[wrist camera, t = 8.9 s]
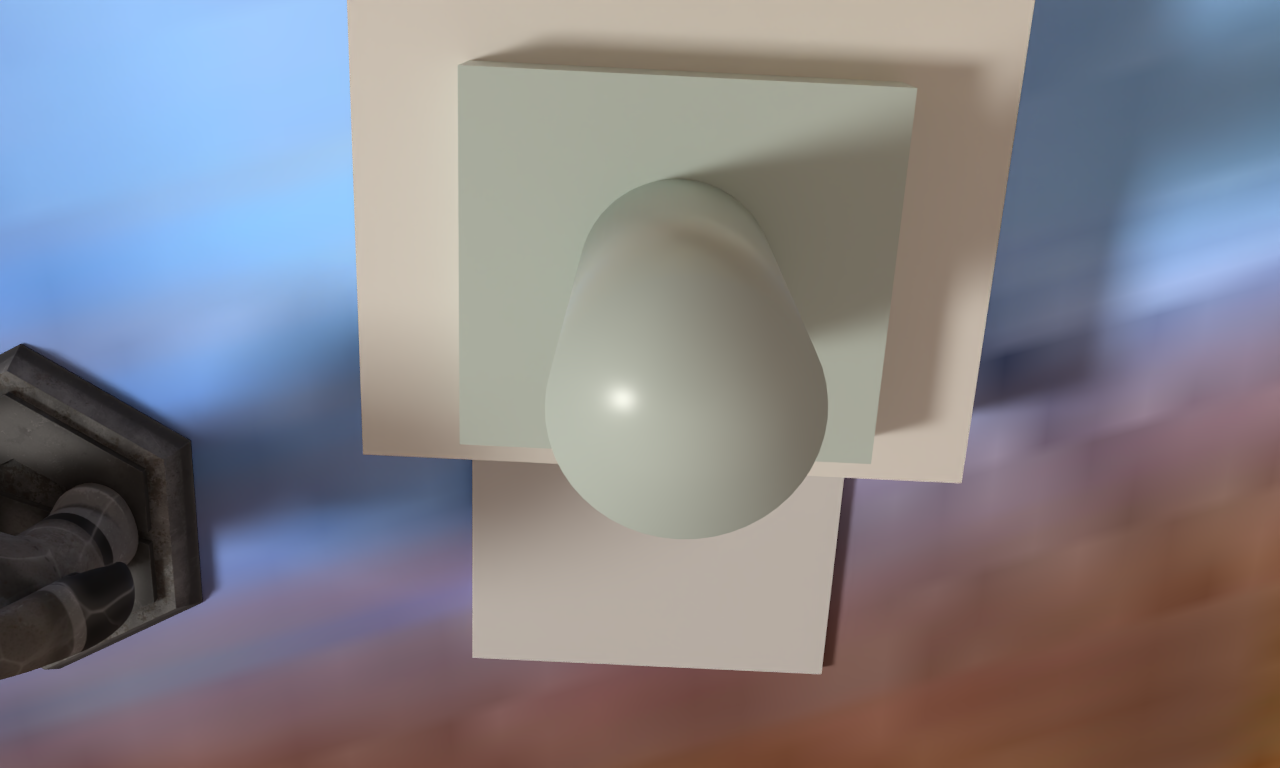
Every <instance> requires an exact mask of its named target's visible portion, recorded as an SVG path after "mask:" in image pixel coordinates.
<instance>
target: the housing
mask: <svg viewBox="0 0 1280 768" xmlns="http://www.w3.org/2000/svg"><path fill="white" fill-rule="evenodd" d="M1034 4H1035V0H347V12H348V40H349V69H350V97H351V126H352V155H353V183H354V212H355V240H356V269H357V298H358V326H359V355H360V383H361V412H362V441H363V454H364V455H385V456H406V457H427V458H448V459H468V460H489V461H510V462H531V463H552V464H558V462H557V460H556V458H555V456H554V454H553V451H552V449H547V448H527V447H506V446H485V445H464V444H460V428H459V224H458V65H459V64H462V63H464V62H466V61H469V60H474V61H494V62H514V63H534V64H554V65H574V66H594V67H614V68H634V69H654V70H675V71H695V72H715V73H735V74H755V75H775V76H795V77H815V78H835V79H856V80H876V81H896V82H904V83H906V84H909V85H911V86H914V87H916V88H917V95H916V104H915V112H914V120H913V128H912V136H911V144H910V152H909V160H908V168H907V177H906V185H905V193H904V201H903V209H902V217H901V225H900V233H899V241H898V249H897V258H896V266H895V274H894V282H893V290H892V298H891V306H890V314H889V322H888V331H887V339H886V347H885V355H884V363H883V371H882V379H881V387H880V395H879V403H878V412H877V420H876V428H875V436H874V444H873V452H872V460H871V464H859V463H838V462H817V461H815V462H814V464H813V466H812V468H811V470H810V471H809V473H808V474H807V476H822V477H842V478H863V479H884V480H905V481H926V482H946V483H961V482H962V476H963V469H964V463H965V456H966V450H967V443H968V436H969V430H970V423H971V417H972V410H973V404H974V397H975V391H976V384H977V377H978V371H979V364H980V358H981V351H982V345H983V338H984V332H985V325H986V318H987V312H988V305H989V299H990V292H991V286H992V279H993V272H994V266H995V259H996V253H997V246H998V240H999V233H1000V227H1001V220H1002V213H1003V207H1004V200H1005V194H1006V187H1007V181H1008V174H1009V168H1010V161H1011V154H1012V148H1013V141H1014V135H1015V128H1016V122H1017V115H1018V109H1019V102H1020V95H1021V89H1022V82H1023V76H1024V69H1025V63H1026V56H1027V49H1028V43H1029V36H1030V30H1031V23H1032V17H1033V10H1034Z"/></svg>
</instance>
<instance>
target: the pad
mask: <svg viewBox="0 0 1280 768" xmlns="http://www.w3.org/2000/svg"><path fill="white" fill-rule="evenodd" d="M843 483H844V478H842V477H822V476H806V477H805V479H804V480H803V482H802V483H801V484H800V486H799V487H798V488H797V489H796V490H795V491H794V493H793V494H792V495H791V496H790V497H789V498H788V499H787V500H786V501H784V502H783V503H782V504H781V505H780V506H779V507H778V508H776V509H775V510H774V511H772V512H771V513H769V514H768V515H766V516H765V517H763V518H762V519H760V520H758V521H756V522H754V523H752V524H750V525H748V526H746V527H744V528H741V529H738V530H736V531H733V532H731V533H727V534H723V535H719V536H715V537H708V538H700V539H671V538H661V537H656V536H652V535H648V534H643V533H640V532H638V531H635V530H632V529H629V528H627V527H625V526H623V525H621V524H619V523H617V522H615V521H613V520H611V519H609V518H608V517H606V516H605V515H603V514H602V513H600V512H599V511H597V510H596V509H595V508H594V507H592V506H591V505H590V504H589V503H588V502H587V501H585V500H584V499H583V498H582V497H581V496H580V494H579V493H578V492H577V491H576V490H575V489H574V488H573V486H572V485H571V484H570V482H569V481H568V479H567V478H566V476H565V475H564V474H563V472H562V470H561V468H560V466H559V464H552V463H531V462H510V461H489V460H472V589H473V658H490V659H511V660H532V661H554V662H575V663H596V664H617V665H638V666H659V667H680V668H702V669H723V670H744V671H765V672H786V673H807V674H821V673H822V665H823V656H824V647H825V639H826V630H827V621H828V613H829V604H830V595H831V587H832V578H833V569H834V561H835V552H836V543H837V535H838V526H839V517H840V509H841V500H842V491H843Z"/></svg>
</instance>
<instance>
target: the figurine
mask: <svg viewBox="0 0 1280 768" xmlns="http://www.w3.org/2000/svg"><path fill="white" fill-rule="evenodd" d="M202 602H203V601H202V587H201V573H200V560H199V546H198V532H197V519H196V505H195V492H194V478H193V464H192V451H191V441H190V440H189V439H187V438H185V437H183V436H182V435H180V434H178V433H176V432H175V431H173V430H171V429H169V428H168V427H166V426H164V425H162V424H161V423H159V422H157V421H155V420H154V419H152V418H150V417H148V416H147V415H145V414H143V413H141V412H140V411H138V410H136V409H134V408H133V407H131V406H129V405H127V404H126V403H124V402H122V401H120V400H119V399H117V398H115V397H113V396H112V395H110V394H108V393H106V392H105V391H103V390H101V389H99V388H98V387H96V386H94V385H92V384H91V383H89V382H87V381H85V380H84V379H82V378H80V377H78V376H77V375H75V374H73V373H71V372H70V371H68V370H66V369H64V368H63V367H61V366H59V365H58V364H56V363H54V362H52V361H51V360H49V359H47V358H45V357H44V356H42V355H40V354H38V353H37V352H35V351H33V350H31V349H30V348H28V347H26V346H24V345H23V344H20V345H18V346H16V347H14V348H12V349H10V350H8V351H6V352H4V353H3V354H1V355H0V680H1V679H5V678H8V677H12V676H15V675H19V674H22V673H25V672H29V671H32V670H35V669H38V668H43V669H60V668H62V667H64V666H67V665H69V664H71V663H73V662H75V661H77V660H79V659H82V658H84V657H86V656H88V655H90V654H92V653H95V652H97V651H99V650H101V649H103V648H105V647H107V646H110V645H112V644H114V643H116V642H118V641H120V640H123V639H125V638H127V637H129V636H131V635H133V634H135V633H138V632H140V631H142V630H144V629H146V628H148V627H151V626H153V625H155V624H157V623H159V622H161V621H163V620H166V619H168V618H170V617H172V616H174V615H176V614H178V613H181V612H183V611H185V610H187V609H189V608H191V607H194V606H196V605H198V604H200V603H202Z"/></svg>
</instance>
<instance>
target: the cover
mask: <svg viewBox="0 0 1280 768" xmlns="http://www.w3.org/2000/svg"><path fill="white" fill-rule="evenodd" d="M916 95H917V88H916V87H914V86H911V85H909V84H906V83H904V82H896V81H876V80H856V79H835V78H815V77H795V76H775V75H755V74H735V73H715V72H695V71H675V70H654V69H634V68H614V67H594V66H574V65H554V64H534V63H514V62H494V61H474V60H469V61H466V62H464V63H462V64H459V65H458V224H459V428H460V444H464V445H485V446H506V447H527V448H547V449H552V451H553V454H554V456H555V458H556V460H557V462H558V464H559V466H560V468H561V470H562V472H563V474H564V475H565V476H566V478H567V479H568V481H569V482H570V484H571V485H572V486H573V488H574V489H575V490H576V491H577V492H578V493H579V494H580V496H581V497H582V498H583V499H584V500H585V501H587V502H588V503H589V504H590V505H591V506H592V507H594V508H595V509H596V510H597V511H599V512H600V513H602V514H603V515H605V516H606V517H608V518H609V519H611V520H613V521H615V522H617V523H619V524H621V525H623V526H625V527H627V528H629V529H632V530H635V531H638V532H640V533H643V534H648V535H652V536H656V537H661V538H671V539H700V538H708V537H715V536H719V535H723V534H727V533H731V532H733V531H736V530H738V529H741V528H744V527H746V526H748V525H750V524H752V523H754V522H756V521H758V520H760V519H762V518H763V517H765V516H766V515H768V514H769V513H771V512H772V511H774V510H775V509H776V508H778V507H779V506H780V505H781V504H782V503H783V502H784V501H786V500H787V499H788V498H789V497H790V496H791V495H792V494H793V493H794V491H795V490H796V489H797V488H798V487H799V486H800V484H801V483H802V482H803V480H804V479H805V477H806V476H807V474H808V473H809V471H810V470H811V468H812V466H813V464H814V462H815V461H817V462H838V463H859V464H871V460H872V452H873V444H874V436H875V428H876V420H877V412H878V403H879V395H880V387H881V379H882V371H883V363H884V355H885V347H886V339H887V331H888V322H889V314H890V306H891V298H892V290H893V282H894V274H895V266H896V258H897V249H898V241H899V233H900V225H901V217H902V209H903V201H904V193H905V185H906V177H907V168H908V160H909V152H910V144H911V136H912V128H913V120H914V112H915V104H916Z"/></svg>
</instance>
